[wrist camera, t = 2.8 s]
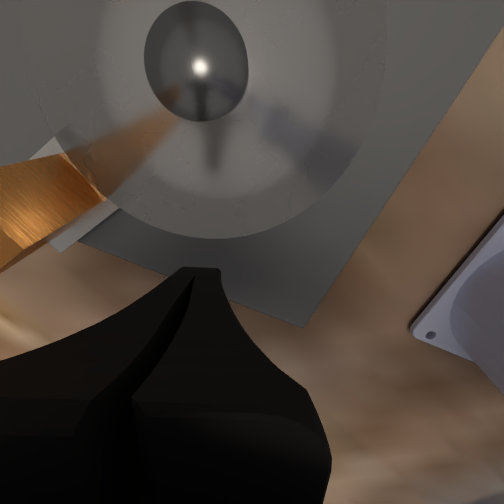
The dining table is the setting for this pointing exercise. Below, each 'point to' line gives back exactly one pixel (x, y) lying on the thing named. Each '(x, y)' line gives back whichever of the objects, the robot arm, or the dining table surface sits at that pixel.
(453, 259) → the dining table surface
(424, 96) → the base plate
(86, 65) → the lidded saucepan
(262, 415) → the robot arm
